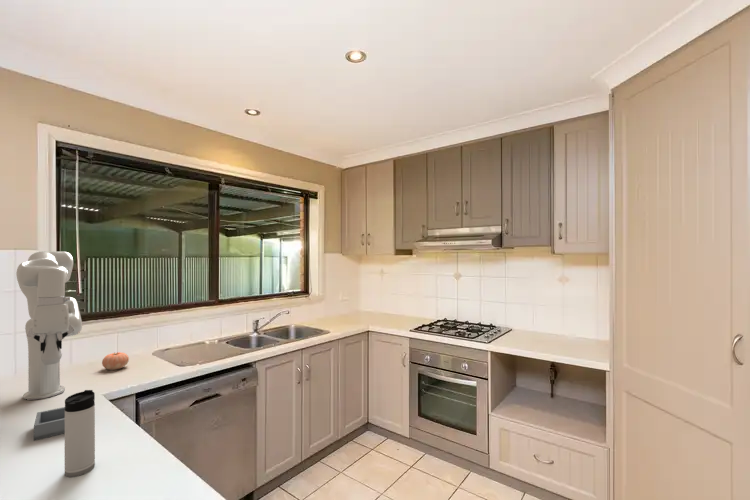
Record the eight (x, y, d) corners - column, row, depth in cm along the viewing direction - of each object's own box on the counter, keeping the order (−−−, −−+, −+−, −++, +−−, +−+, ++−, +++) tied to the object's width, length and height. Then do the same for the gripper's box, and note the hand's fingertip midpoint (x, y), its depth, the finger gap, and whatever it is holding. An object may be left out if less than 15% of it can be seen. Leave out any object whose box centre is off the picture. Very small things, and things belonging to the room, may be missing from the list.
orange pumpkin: (104, 367, 184) (104, 351, 184) (130, 364, 189) (130, 348, 189) (99, 373, 174) (99, 356, 174) (126, 370, 179) (126, 354, 179)
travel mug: (101, 462, 101) (101, 389, 101) (83, 477, 95) (83, 399, 95) (77, 462, 101) (78, 389, 101) (58, 477, 94) (58, 399, 94)
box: (37, 426, 122) (37, 412, 122) (83, 415, 130) (83, 403, 130) (33, 440, 113) (33, 426, 113) (83, 428, 120) (83, 414, 120)
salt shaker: (60, 359, 138) (60, 325, 138) (63, 362, 135) (63, 327, 135) (39, 363, 134) (39, 327, 134) (42, 366, 130) (42, 329, 130)
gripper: (80, 298, 142) (80, 346, 142) (21, 302, 132) (21, 353, 132) (80, 300, 136) (80, 350, 137) (18, 304, 126) (18, 358, 126)
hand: (51, 351), depth 134 cm, fingers closed on salt shaker, 3 cm apart
